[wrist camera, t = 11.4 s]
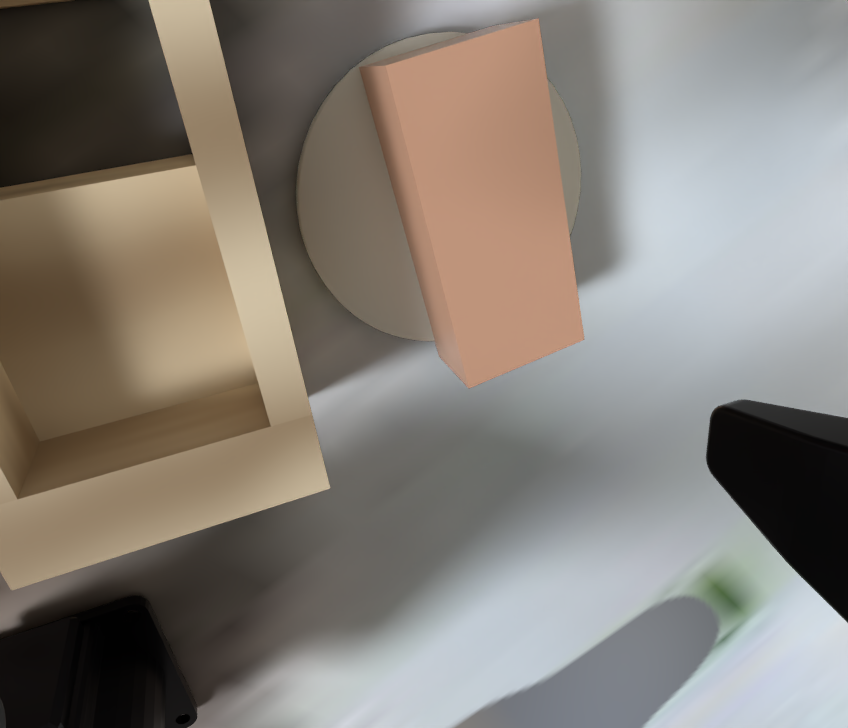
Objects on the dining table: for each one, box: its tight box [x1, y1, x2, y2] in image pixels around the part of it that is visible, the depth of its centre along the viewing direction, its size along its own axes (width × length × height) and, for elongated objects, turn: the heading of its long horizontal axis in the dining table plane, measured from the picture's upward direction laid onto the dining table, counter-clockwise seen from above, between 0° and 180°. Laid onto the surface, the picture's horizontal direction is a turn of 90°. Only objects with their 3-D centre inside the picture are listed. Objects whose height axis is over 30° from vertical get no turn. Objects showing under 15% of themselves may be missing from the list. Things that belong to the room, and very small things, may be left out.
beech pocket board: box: [0, 0, 330, 590], centre depth 14 cm, size 16×8×5 cm, turn 7°
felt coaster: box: [296, 32, 581, 341], centre depth 19 cm, size 9×9×1 cm
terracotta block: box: [359, 18, 584, 388], centre depth 18 cm, size 9×4×2 cm, turn 15°
